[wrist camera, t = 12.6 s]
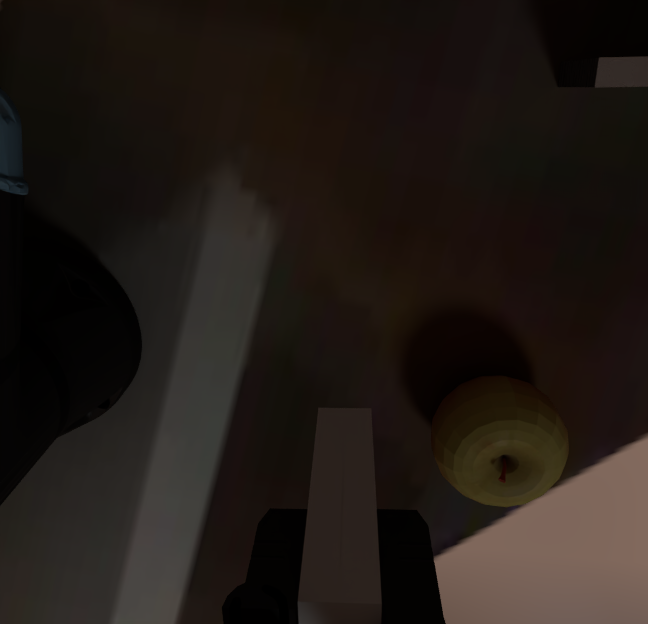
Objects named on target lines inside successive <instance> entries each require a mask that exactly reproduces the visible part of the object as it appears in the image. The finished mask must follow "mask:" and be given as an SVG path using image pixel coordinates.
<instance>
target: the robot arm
mask: <svg viewBox="0 0 648 624" xmlns="http://www.w3.org/2000/svg"><path fill="white" fill-rule="evenodd" d="M26 194H28V184H27V182H26V181H25V180H24V177H23V162H22V132H21V120H20V116H19V113H18V111H17V108H16V106H15V105H14V103H13V101H12V100H11V99H10V97H9V96H8V95H7V94H6V93H5V92H4V91H3V90H2V89H1V88H0V506H1V504H2V503H3V502H4V501H5V500H6V498H7V497H8V496H9V495H10V494H11V492H12V491H13V490H14V489H15V488H16V486H17V485H18V484H19V483H20V482H21V480H22V479H23V478H24V477H25V475H26V474H27V473H28V472H29V471H30V469H31V468H32V467H33V466H34V465H35V463H36V462H37V461H38V460H39V459H40V457H41V456H42V455H43V454H44V453H45V451H46V450H47V449H48V448H49V446H50V445H51V444H52V443H53V442H54V440H55V439H56V438H58V437H60V436H62V435H64V434H66V433H68V432H70V431H72V430H74V429H76V428H78V427H80V426H82V425H84V424H86V423H88V422H90V421H92V420H94V419H96V418H98V417H99V416H101V415H102V414H104V413H105V412H106V411H108V410H109V409H110V408H111V407H112V406H113V405H114V404H115V403H116V402H117V401H118V400H119V398H120V397H121V396H122V395H123V393H124V392H125V391H126V389H127V388H128V387H129V385H130V384H131V382H132V380H133V379H134V377H135V375H136V372H137V370H138V367H139V363H140V359H141V351H142V339H141V332H140V327H139V323H138V319H137V317H136V314H135V311H134V309H133V307H132V305H131V303H130V301H129V299H128V298H127V296H126V294H125V293H124V292H123V290H122V289H121V287H120V286H119V285H118V284H117V283H116V281H115V280H114V279H113V278H112V277H111V276H110V275H109V274H108V273H107V272H106V271H105V270H103V269H102V268H101V267H100V266H98V265H97V264H96V263H94V262H93V261H92V260H90V259H88V258H87V257H85V256H83V255H82V254H80V253H78V252H76V251H73V250H71V249H69V248H66V247H63V246H60V245H57V244H53V243H49V242H43V241H34V240H23V223H24V195H26ZM222 612H223V621H224V624H446V623H445V620H444V617H443V611H442V605H441V599H440V594H439V588H438V581H437V575H436V569H435V563H434V558H433V552H432V547H431V540H430V534H429V528H428V525H427V524H426V522H425V521H424V519H423V518H422V517H421V515H420V514H419V513H418V511H417V510H389V509H377V507H376V489H375V471H374V452H373V434H372V416H371V408H319V409H318V418H317V428H316V437H315V446H314V455H313V465H312V474H311V483H310V492H309V501H308V509H269V511H268V512H267V513H266V514H265V516H264V517H263V518H262V520H261V521H260V522H259V523H258V527H257V532H256V536H255V541H254V545H253V550H252V555H251V559H250V564H249V568H248V573H247V578H246V582H245V583H244V584H242V585H240V586H237V587H236V588H235V589H234V590H233V591H232V592H231V593H230V594H229V595H228V596H227V598H226V600H225V602H224V604H223V606H222Z"/></svg>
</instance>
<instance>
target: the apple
mask: <svg viewBox="0 0 648 624" xmlns="http://www.w3.org/2000/svg"><path fill="white" fill-rule="evenodd" d="M431 445H432V450H433V454H434V457H435V459H436V462H437V464H438V466H439V469H440V471H441V474H442V476H443V477H444V478H445V479H446V480H447V481H448V482H449V483H451V484H452V485H453V486H454V487H455V488H456V489H457V490H458V491H459V492H460V493H461V494H463V495H464V496H466V497H468V498H471V499H473V500H475V501H477V502H480V503H482V504H486V505H494V506H503V507H509V506H514V505H520V504H526V503H528V502H530V501H532V500H534V499H536V498H538V497H540V496H542V495H543V494H544V493H545V492H546V491H547V490H548V489H549V488H550V487H551V486H552V485H553V484H554V483H555V482H556V481H557V480H558V479H559V478H560V476H561V473H562V471H563V468H564V466H565V463H566V461H567V457H568V453H569V448H568V431H567V429H566V427H565V425H564V422H563V420H562V419H561V417H560V415H559V413H558V412H557V410H556V408H555V406H554V405H553V403H552V402H551V401H550V399H549V398H548V397H547V396H546V395H545V394H544V393H542V392H541V391H540V390H538V389H537V388H535V387H534V386H533V385H531V384H530V383H528V382H524V381H521V380H517V379H514V378H510V377H507V376H502V375H495V376H479V377H477V378H474V379H472V380H469V381H466V382H464V383H461V384H460V385H459V386H457V387H456V388H455V389H454V390H453V391H452V392H450V393H449V394H448V395H447V396H446V397H445V398H444V399H443V400H442V402H441V404H440V405H439V407H438V409H437V411H436V413H435V415H434V417H433V419H432V432H431Z"/></svg>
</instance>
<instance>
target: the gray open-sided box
mask: <svg viewBox="0 0 648 624" xmlns="http://www.w3.org/2000/svg"><path fill="white" fill-rule="evenodd" d="M641 86H648V57H601V58H591V59H582V60H573V61H565V62H561V69H560V77H559V84H558V87H641Z"/></svg>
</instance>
